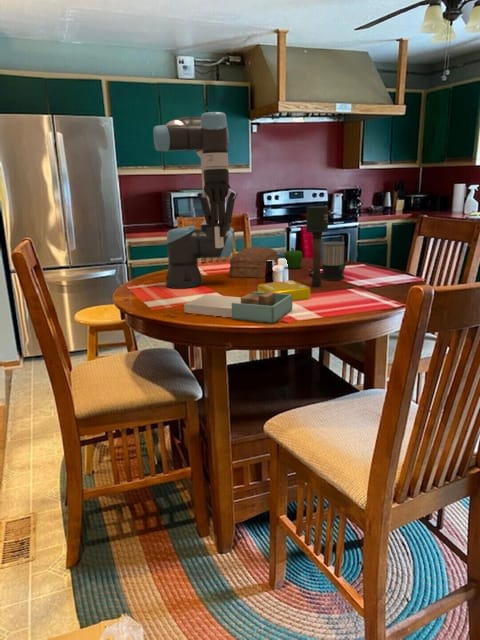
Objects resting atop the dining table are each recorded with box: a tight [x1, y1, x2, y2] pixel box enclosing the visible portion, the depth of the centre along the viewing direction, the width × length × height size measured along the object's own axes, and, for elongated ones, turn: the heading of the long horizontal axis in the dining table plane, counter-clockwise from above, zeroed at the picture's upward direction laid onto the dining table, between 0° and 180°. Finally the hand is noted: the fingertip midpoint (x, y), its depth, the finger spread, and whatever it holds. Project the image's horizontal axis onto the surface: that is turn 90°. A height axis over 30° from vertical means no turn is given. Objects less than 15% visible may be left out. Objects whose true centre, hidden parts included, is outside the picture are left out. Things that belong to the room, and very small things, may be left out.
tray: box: [231, 291, 293, 324], centre depth 147 cm, size 14×16×5 cm
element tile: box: [257, 280, 311, 302], centre depth 169 cm, size 15×15×5 cm
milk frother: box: [308, 241, 347, 281], centre depth 198 cm, size 14×16×15 cm
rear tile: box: [241, 293, 259, 305], centre depth 148 cm, size 6×6×3 cm
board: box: [183, 294, 243, 318], centre depth 154 cm, size 17×14×3 cm
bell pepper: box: [284, 247, 303, 270], centre depth 222 cm, size 8×8×10 cm
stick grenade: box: [305, 205, 330, 288], centre depth 180 cm, size 8×9×30 cm
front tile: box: [258, 292, 275, 306], centre depth 146 cm, size 6×6×3 cm
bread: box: [229, 246, 279, 279], centre depth 216 cm, size 17×29×11 cm, turn 163°
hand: (219, 247), depth 149 cm, fingers closed
